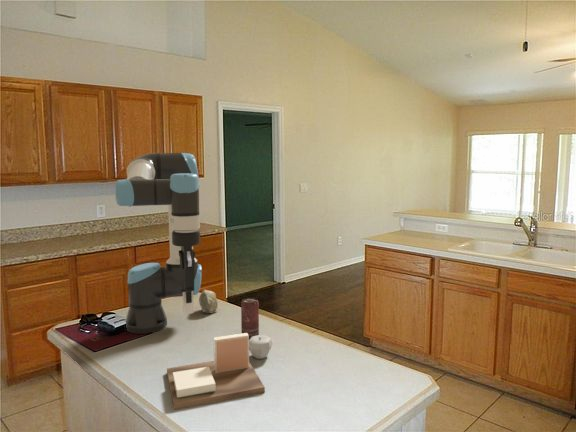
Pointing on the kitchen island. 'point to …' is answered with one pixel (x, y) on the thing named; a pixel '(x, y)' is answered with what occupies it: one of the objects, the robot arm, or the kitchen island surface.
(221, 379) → the board
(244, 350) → the tile cream
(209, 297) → the grey rock
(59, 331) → the kitchen island surface
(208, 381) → the square block
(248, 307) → the can
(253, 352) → the apple
